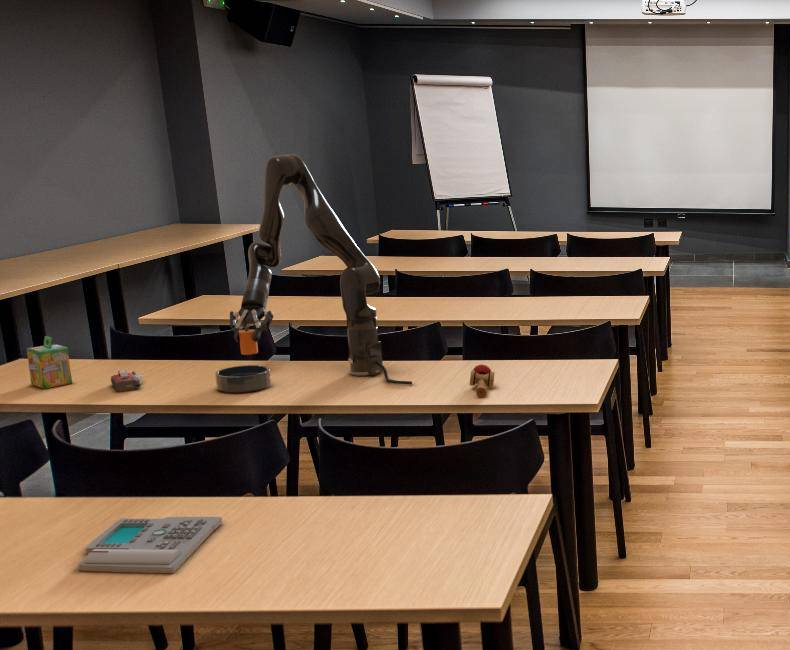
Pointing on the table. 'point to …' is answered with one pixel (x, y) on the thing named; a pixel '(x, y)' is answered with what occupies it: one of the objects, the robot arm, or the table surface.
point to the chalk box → (49, 365)
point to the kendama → (482, 379)
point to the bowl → (243, 378)
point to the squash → (247, 342)
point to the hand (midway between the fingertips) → (246, 340)
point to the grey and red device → (126, 381)
